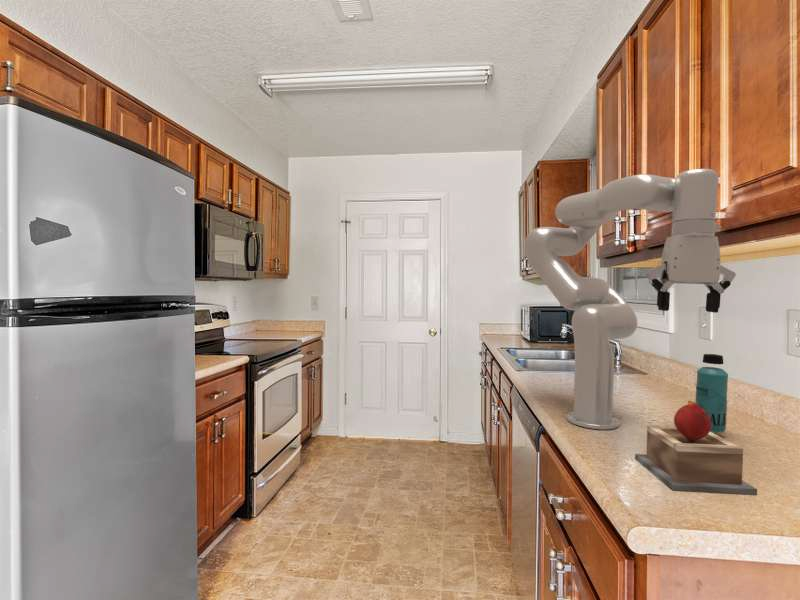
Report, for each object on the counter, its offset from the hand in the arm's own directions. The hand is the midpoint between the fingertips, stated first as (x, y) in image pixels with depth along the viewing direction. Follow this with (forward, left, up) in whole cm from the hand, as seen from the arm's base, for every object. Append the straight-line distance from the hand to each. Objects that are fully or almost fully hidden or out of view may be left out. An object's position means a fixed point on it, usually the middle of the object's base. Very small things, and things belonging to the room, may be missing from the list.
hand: (687, 311), depth 90 cm
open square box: (+10, -4, -31) cm, 33 cm away
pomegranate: (+10, -4, -25) cm, 27 cm away
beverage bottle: (-15, +15, -31) cm, 38 cm away
